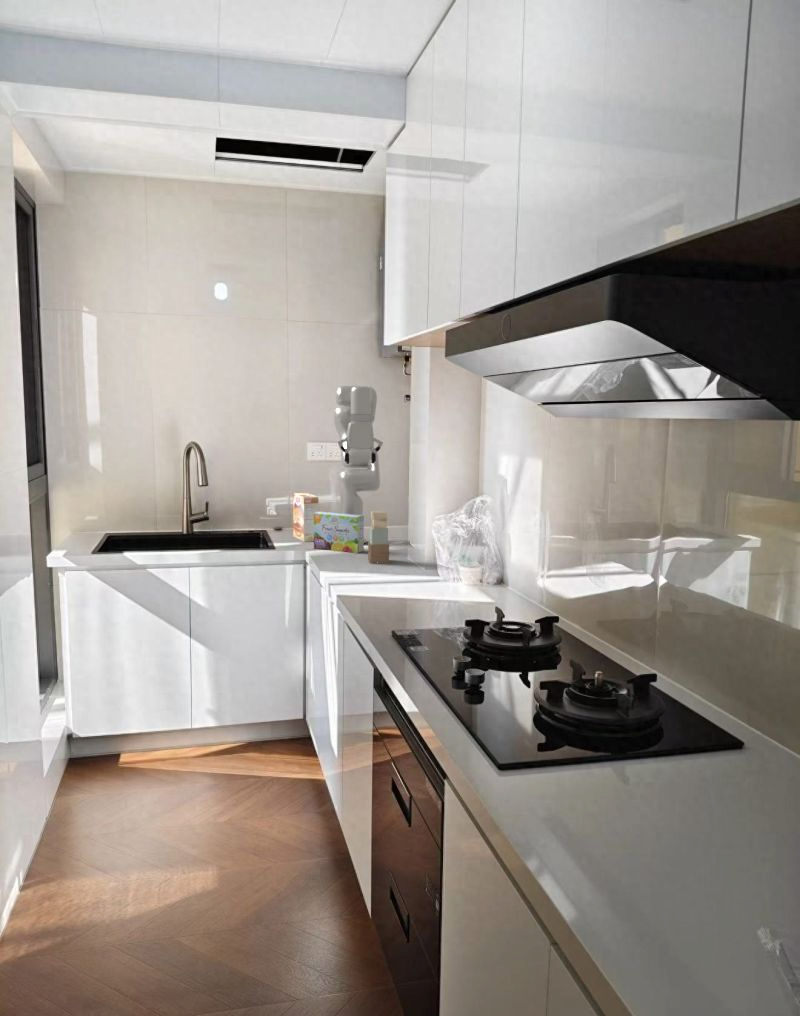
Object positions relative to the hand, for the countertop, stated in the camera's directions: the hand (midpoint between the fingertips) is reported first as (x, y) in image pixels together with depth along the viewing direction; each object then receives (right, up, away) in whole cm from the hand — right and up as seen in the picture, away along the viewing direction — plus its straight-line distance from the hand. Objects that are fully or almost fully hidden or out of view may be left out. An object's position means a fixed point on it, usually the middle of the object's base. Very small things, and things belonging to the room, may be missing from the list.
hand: (360, 463), depth 321 cm
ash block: (+7, -25, -7) cm, 27 cm away
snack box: (-10, -35, +18) cm, 40 cm away
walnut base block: (+7, -37, -5) cm, 38 cm away
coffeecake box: (-26, -31, +45) cm, 60 cm away
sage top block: (+7, -31, -6) cm, 32 cm away
